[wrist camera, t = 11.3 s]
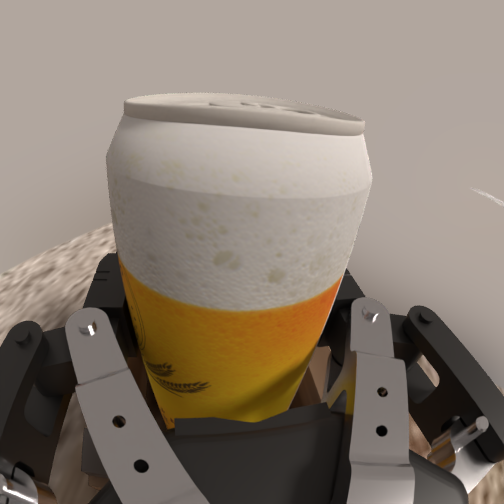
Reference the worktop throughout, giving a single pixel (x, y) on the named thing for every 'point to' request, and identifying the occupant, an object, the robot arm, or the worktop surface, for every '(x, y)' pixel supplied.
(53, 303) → the worktop surface
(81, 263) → the worktop surface
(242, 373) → the beer can
